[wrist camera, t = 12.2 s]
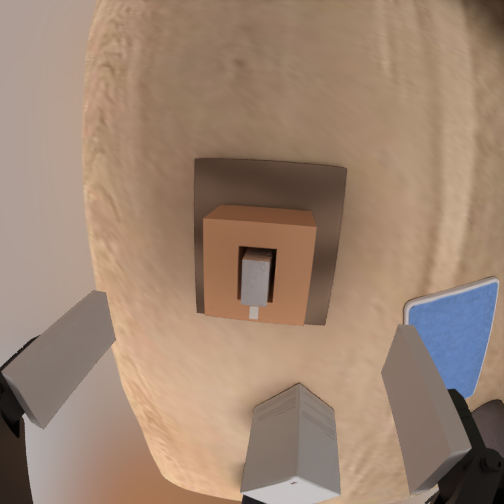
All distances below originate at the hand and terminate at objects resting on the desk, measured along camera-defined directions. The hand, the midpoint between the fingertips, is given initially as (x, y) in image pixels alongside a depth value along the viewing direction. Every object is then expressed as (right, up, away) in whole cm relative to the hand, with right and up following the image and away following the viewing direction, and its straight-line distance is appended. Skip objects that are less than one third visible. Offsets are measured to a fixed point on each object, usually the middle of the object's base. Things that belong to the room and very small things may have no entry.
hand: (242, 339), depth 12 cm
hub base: (+2, +4, +14) cm, 14 cm away
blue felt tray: (+24, -9, +16) cm, 30 cm away
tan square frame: (+1, +4, +12) cm, 12 cm away
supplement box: (+6, -16, +20) cm, 26 cm away
